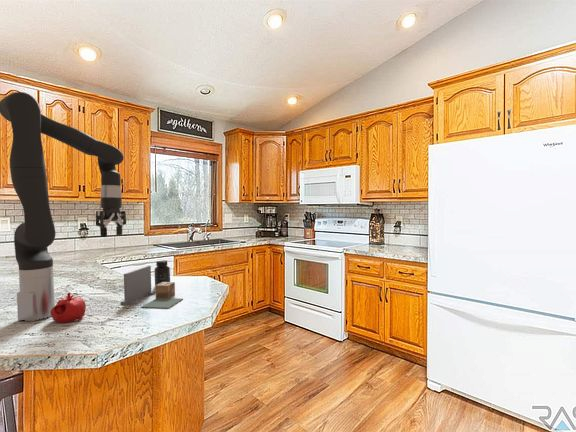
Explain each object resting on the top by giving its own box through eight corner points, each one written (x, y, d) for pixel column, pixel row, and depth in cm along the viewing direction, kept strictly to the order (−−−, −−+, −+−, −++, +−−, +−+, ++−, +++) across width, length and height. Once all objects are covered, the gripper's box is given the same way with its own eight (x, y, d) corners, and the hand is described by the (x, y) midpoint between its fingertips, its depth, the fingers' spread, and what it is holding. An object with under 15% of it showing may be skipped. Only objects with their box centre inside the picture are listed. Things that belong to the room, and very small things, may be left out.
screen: (132, 305, 119) (131, 274, 118) (120, 304, 119) (119, 273, 119) (155, 293, 135) (154, 265, 134) (144, 292, 135) (144, 265, 135)
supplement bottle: (173, 284, 149) (172, 259, 148) (166, 288, 142) (165, 262, 142) (159, 284, 150) (158, 259, 149) (151, 288, 143) (151, 262, 142)
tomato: (80, 312, 111) (80, 287, 111) (91, 318, 105) (90, 291, 105) (46, 320, 104) (46, 292, 104) (55, 327, 97) (55, 297, 97)
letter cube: (168, 298, 127) (167, 285, 126) (155, 298, 127) (155, 284, 127) (175, 294, 132) (174, 281, 132) (163, 294, 133) (162, 281, 133)
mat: (168, 308, 114) (168, 307, 114) (141, 307, 116) (141, 306, 115) (182, 299, 125) (182, 298, 125) (157, 298, 126) (157, 297, 126)
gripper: (106, 196, 120) (107, 237, 120) (131, 197, 134) (131, 234, 134) (89, 196, 121) (90, 237, 121) (115, 197, 135) (116, 234, 135)
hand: (111, 235), depth 128 cm, fingers open, 8 cm apart
